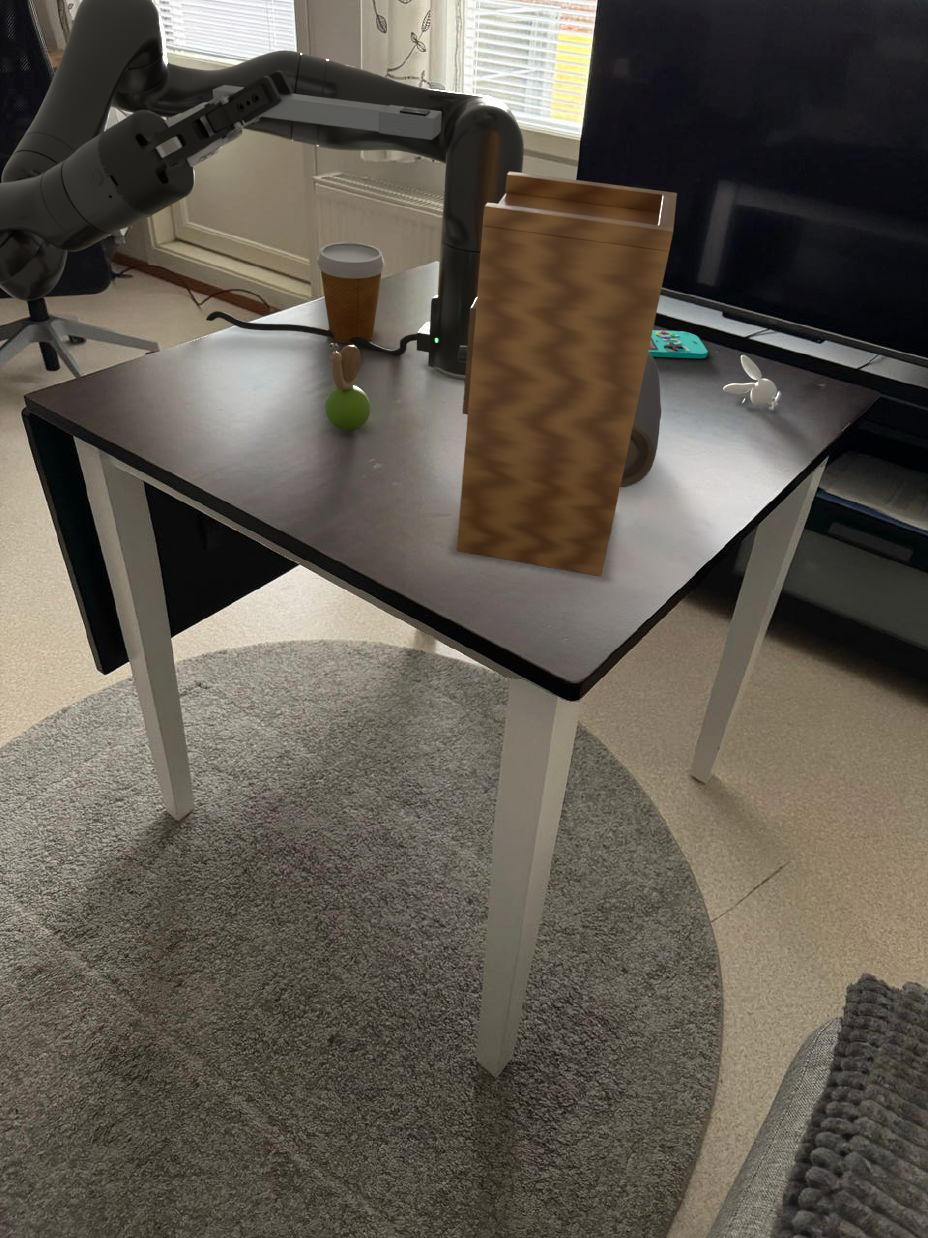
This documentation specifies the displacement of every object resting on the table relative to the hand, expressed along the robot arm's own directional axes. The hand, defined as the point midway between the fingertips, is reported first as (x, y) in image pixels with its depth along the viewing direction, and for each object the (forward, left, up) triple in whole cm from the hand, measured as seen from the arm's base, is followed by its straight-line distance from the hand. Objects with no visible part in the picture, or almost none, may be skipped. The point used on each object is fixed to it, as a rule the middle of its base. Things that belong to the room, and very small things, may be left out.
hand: (280, 85), depth 76 cm
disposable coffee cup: (-18, +40, -39) cm, 59 cm away
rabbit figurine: (+38, +53, -39) cm, 76 cm away
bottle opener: (+5, +1, -2) cm, 5 cm away
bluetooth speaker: (+27, +29, -39) cm, 56 cm away
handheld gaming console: (+21, +64, -39) cm, 78 cm away
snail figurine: (-3, +15, -39) cm, 42 cm away
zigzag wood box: (+26, +7, -39) cm, 47 cm away
